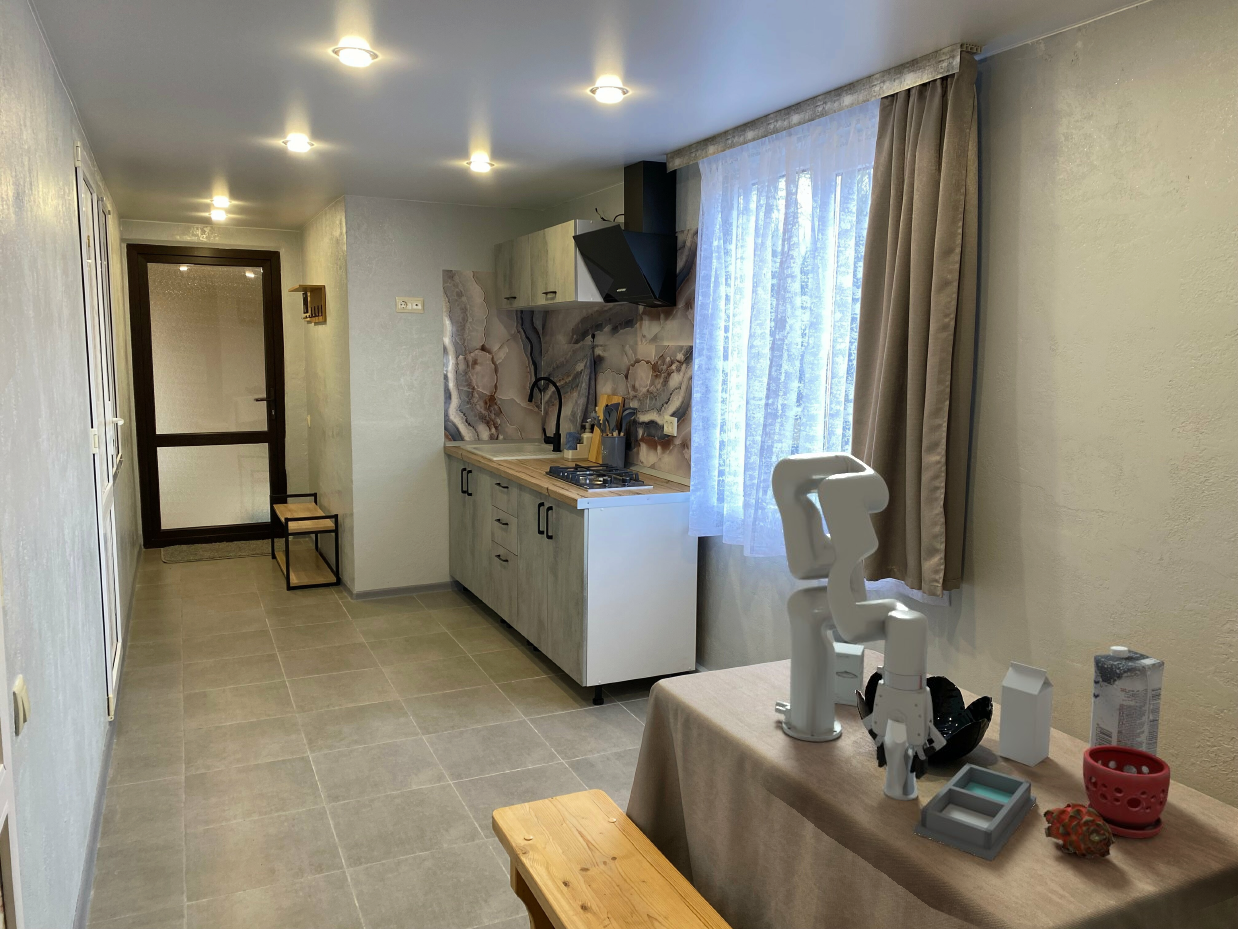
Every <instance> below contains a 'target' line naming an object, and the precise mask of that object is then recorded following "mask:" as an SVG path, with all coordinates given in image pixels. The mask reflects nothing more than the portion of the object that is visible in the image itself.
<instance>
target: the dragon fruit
mask: <svg viewBox="0 0 1238 929" xmlns="http://www.w3.org/2000/svg"><path fill="white" fill-rule="evenodd" d="M1043 818H1045V822H1046V823H1047V825H1048V826H1046V827H1044V834H1045V837H1046V838H1052V839H1056V840H1058V841H1059V840H1060V841H1061V842H1062V843H1061V850H1062V851H1063V852H1065V853H1066V854H1069V853H1070V854H1072V853H1074V852H1076V853H1077V855H1078V856H1079V857H1082V858H1085V859H1092V858H1093V857H1094V856H1097V857H1100V858H1103V859H1104V858H1105V857H1106V858H1107V857H1109V856H1111V851H1110V850H1111V849H1110V847H1111V846H1112V845H1114V844H1116V841H1115V840H1114V838H1113V833H1112V832H1111V829H1110V828H1109V826H1108V825H1107V824H1106V822H1104V821H1103V819H1102V817H1101V816H1100V815H1099V814H1098V813H1097V812H1096V811H1095V810H1093V809H1091V808H1087V805H1085V804H1082V803H1079V802H1074V801H1073V802H1070V803H1067V804H1066V805H1065V806H1064V807H1061V808H1060V807H1055V808H1052V809H1047V810H1045V811H1044V812H1043Z"/></svg>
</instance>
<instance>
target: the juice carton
mask: <svg viewBox="0 0 1238 929" xmlns="http://www.w3.org/2000/svg"><path fill="white" fill-rule="evenodd" d="M1093 666H1094V667H1093V668H1094V670H1093V672H1094V673H1093V687H1092V698H1091V699H1092V702H1091V716H1090V734H1089V747H1088V749H1089V748H1091V747H1095V746H1102V745H1114V746H1123V747H1129V748H1134V749H1138V750H1141V751H1145V752H1148V753H1150V754H1152V755H1155V756H1157V751H1158V750H1157V749H1158V739H1159V738H1158V737H1159V727H1160V726H1159V723H1160V713H1161V711H1160V710H1161V697H1162V688H1163V686H1162V685H1163V675H1164V670H1165V662H1164V661H1163V660H1161V659H1157V658H1155V657H1151V656H1149V655H1146V654H1143V653H1140V652H1137V651H1134V650H1132V649H1129V648H1128V647H1126V646H1120V645H1117V646H1115V645H1113V646H1110V653H1108V654H1106V653H1105V654H1095V655H1093ZM1098 764H1099V765H1100V764H1101V761H1099V762H1098ZM1109 766H1110V767H1111V768H1114V767H1115V766H1116V762H1114V761H1111V762H1110V763H1109ZM1142 770H1143V772H1144V773H1148V772H1149V770H1148V768H1147V767H1145V766H1143V767H1142ZM1124 772H1125V773H1129V774H1137V771H1136V769H1135V768H1134V767H1133V766H1131V765H1127V766H1125V767H1124ZM1093 779H1094V777H1093V776H1092V780H1093Z"/></svg>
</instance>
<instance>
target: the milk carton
mask: <svg viewBox="0 0 1238 929" xmlns="http://www.w3.org/2000/svg"><path fill="white" fill-rule="evenodd" d="M1009 666H1010V667H1009V669H1008V670H1007V673H1006V675H1005V677H1004V679H1003V681H1002V684H1001V692H1000V693H1001V694H1000V695H1001V696H1000V713H999V714H1000V715H999V716H1000V717H999V730H998V731H999V735H998V752H997V753H998V756H1001V757H1004V758H1007V759H1009V760H1013V761H1015V762H1017V763H1021V764H1024V765H1026V766H1029V767H1035V766H1036V765H1037V764H1039V763H1041V762H1042V761H1044V760H1045V759H1046V758H1048V757H1049V754H1050V742H1051V726H1052V723H1051V722H1052V709H1053V708H1052V707H1053V691H1054V688H1053V687H1054V685H1053V684H1052V682H1051V680H1050V679H1049V678H1048V676H1047V674H1048V673H1047V670H1046V669H1042V668H1038V667H1034V666H1030V665H1027V664H1023V663H1019V662H1015V661H1012V660H1011V661H1010V665H1009Z"/></svg>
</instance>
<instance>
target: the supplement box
mask: <svg viewBox="0 0 1238 929" xmlns="http://www.w3.org/2000/svg"><path fill="white" fill-rule="evenodd" d="M832 644H833V646H834V648H835V651H836V681H835V704H838V705H839V704H841V705H848V706H854V707H857V700H856V693H855V690H859V691H861V693H863V692H864V691H863V690H864V688H863V687H864V673H865V672H864V670H865V649H866V646H865V645H863V644H862V645H860V644H856V645H853V644H845V643H837V642H835V641H833V642H832ZM863 694H864V693H863Z"/></svg>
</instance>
